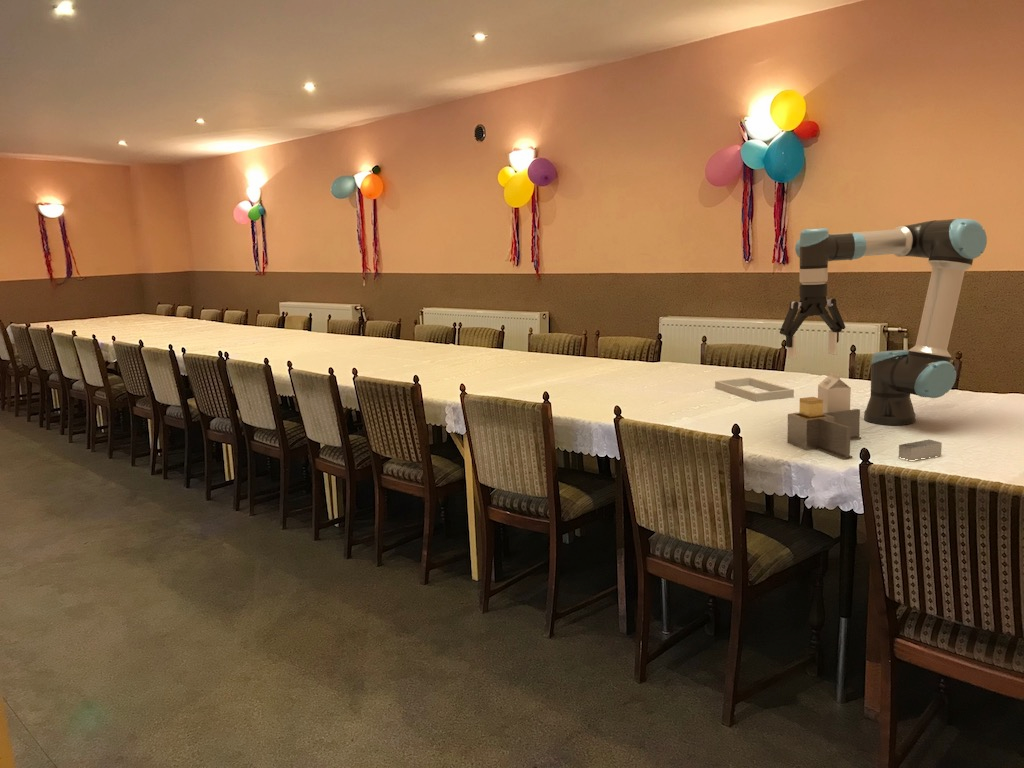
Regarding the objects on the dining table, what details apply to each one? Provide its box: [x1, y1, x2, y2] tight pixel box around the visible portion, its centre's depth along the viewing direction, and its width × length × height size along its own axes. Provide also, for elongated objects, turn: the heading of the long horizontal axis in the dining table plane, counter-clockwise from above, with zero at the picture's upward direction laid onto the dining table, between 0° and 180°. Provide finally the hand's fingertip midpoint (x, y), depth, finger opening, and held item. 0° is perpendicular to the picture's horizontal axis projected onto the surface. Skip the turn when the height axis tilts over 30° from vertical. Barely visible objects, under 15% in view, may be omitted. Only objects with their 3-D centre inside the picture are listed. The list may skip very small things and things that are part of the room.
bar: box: [898, 439, 943, 460], centre depth 206 cm, size 11×4×4 cm, turn 110°
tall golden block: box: [798, 396, 823, 419], centre depth 222 cm, size 5×5×14 cm
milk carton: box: [817, 371, 852, 413], centre depth 233 cm, size 7×7×19 cm
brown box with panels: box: [787, 408, 862, 461], centre depth 219 cm, size 21×21×9 cm
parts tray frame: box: [714, 377, 795, 403], centre depth 300 cm, size 16×30×3 cm, turn 14°
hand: (812, 356), depth 219 cm, fingers open, 13 cm apart
